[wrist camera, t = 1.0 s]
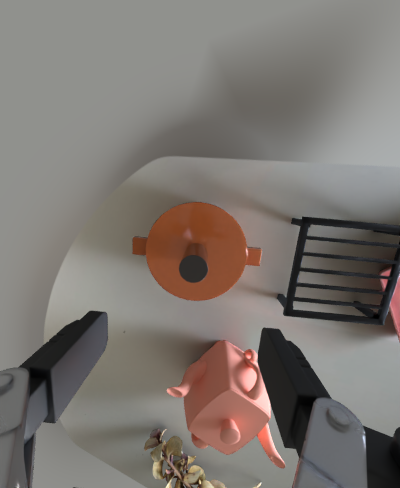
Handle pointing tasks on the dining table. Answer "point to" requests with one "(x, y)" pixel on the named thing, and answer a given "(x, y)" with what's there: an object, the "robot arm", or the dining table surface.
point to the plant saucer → (393, 300)
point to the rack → (342, 273)
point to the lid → (196, 251)
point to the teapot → (226, 401)
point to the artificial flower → (177, 463)
